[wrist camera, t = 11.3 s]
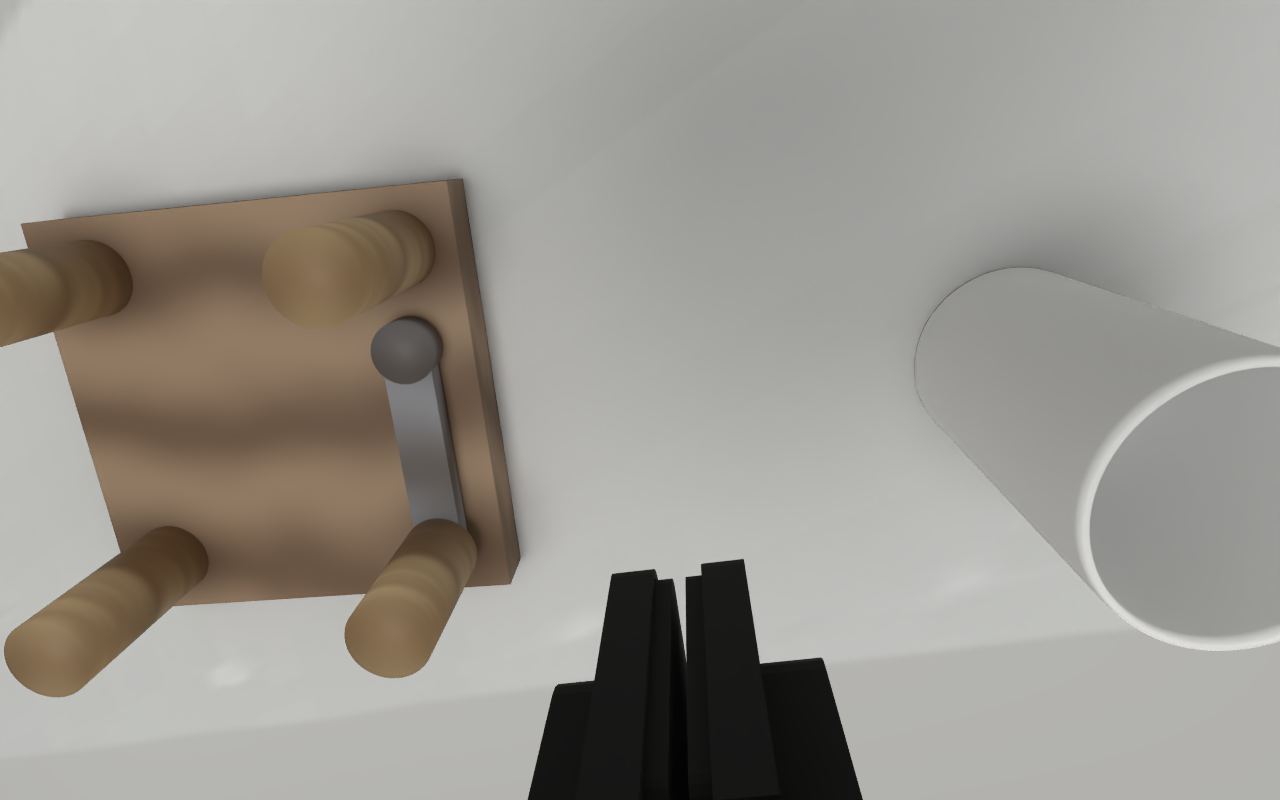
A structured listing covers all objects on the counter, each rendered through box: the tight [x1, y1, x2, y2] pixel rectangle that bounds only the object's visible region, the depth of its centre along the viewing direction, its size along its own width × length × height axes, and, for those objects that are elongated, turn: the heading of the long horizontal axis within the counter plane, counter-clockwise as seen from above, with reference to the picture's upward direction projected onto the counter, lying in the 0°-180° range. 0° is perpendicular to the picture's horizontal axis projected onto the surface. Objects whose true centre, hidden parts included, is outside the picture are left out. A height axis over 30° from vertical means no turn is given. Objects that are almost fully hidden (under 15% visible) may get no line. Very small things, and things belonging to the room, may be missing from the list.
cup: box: [915, 267, 1280, 651], centre depth 29 cm, size 8×8×16 cm
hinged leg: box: [345, 316, 477, 678], centre depth 32 cm, size 12×3×8 cm, turn 6°
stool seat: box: [0, 179, 520, 697], centre depth 33 cm, size 18×18×11 cm
